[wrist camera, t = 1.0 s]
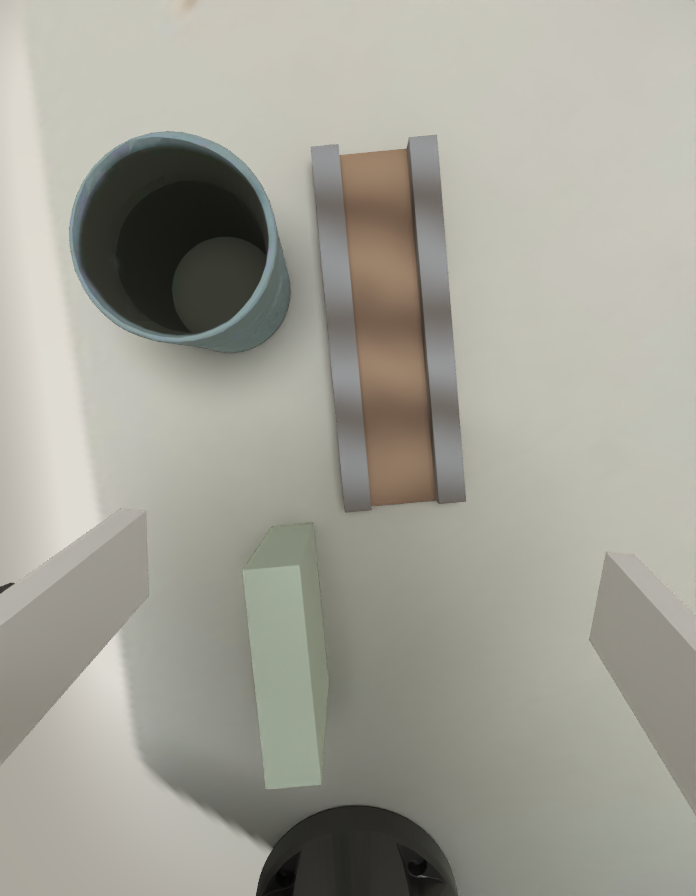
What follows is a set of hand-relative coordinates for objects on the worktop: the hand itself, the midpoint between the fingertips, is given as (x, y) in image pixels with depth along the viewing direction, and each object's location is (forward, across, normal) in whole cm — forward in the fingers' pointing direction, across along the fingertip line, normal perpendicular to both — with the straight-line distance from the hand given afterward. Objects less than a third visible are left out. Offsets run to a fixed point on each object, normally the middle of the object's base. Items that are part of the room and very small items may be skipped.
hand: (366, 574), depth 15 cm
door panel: (+21, +5, +14) cm, 26 cm away
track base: (+25, 0, -6) cm, 26 cm away
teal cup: (+25, +12, -8) cm, 29 cm away
